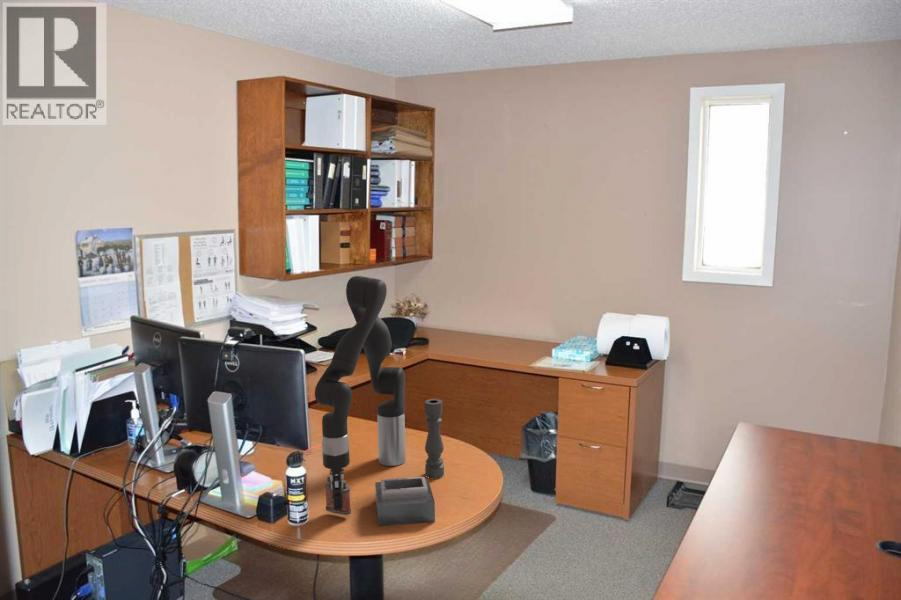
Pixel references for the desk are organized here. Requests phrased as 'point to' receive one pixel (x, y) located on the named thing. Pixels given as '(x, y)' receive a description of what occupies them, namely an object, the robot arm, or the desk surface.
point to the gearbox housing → (404, 501)
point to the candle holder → (434, 439)
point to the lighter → (345, 499)
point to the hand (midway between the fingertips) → (338, 504)
